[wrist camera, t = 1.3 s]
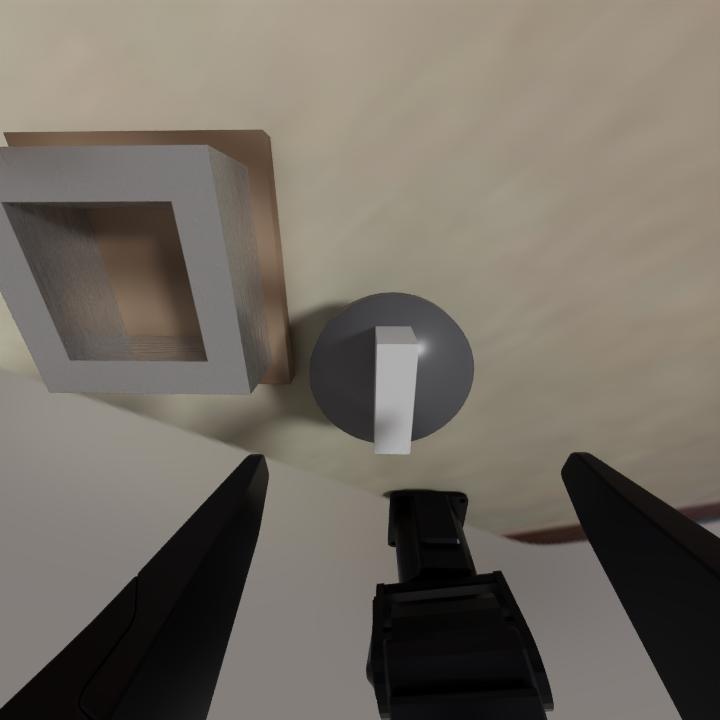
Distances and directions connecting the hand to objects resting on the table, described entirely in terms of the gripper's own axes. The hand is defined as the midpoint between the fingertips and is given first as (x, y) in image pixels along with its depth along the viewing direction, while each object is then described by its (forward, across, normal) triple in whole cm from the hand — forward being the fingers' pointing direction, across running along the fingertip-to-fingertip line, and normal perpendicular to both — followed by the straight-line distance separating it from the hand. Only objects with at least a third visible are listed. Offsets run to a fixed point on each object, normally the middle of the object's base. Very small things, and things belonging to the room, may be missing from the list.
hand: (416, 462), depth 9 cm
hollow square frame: (+12, +13, -2) cm, 17 cm away
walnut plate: (+13, +13, -2) cm, 18 cm away
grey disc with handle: (+12, 0, +3) cm, 12 cm away
